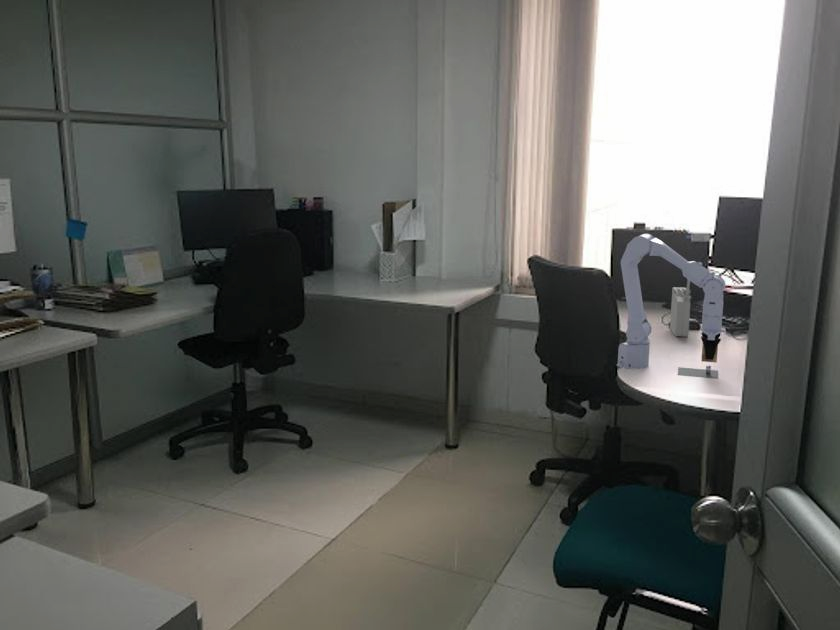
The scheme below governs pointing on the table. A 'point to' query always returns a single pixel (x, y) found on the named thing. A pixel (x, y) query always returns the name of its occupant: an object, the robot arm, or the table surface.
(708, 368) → the steel pin
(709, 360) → the hollow block
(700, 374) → the pin plate
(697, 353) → the table surface
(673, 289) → the fuel canister
